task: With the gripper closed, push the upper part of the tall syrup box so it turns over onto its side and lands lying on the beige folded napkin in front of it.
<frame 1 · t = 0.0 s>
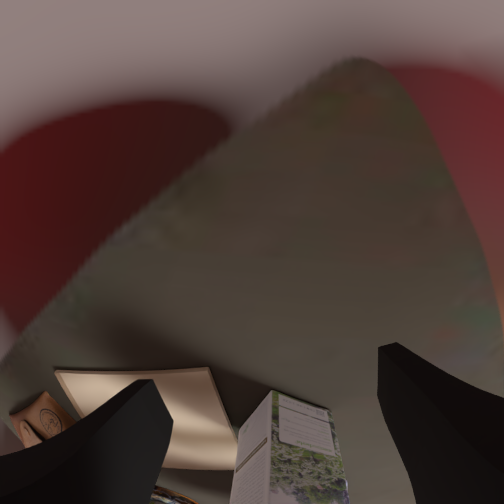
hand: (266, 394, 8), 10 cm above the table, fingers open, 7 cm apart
syrup box: (285, 418, 21), on the table
burger: (164, 501, 27), on the table
beige folded napkin: (148, 425, 22), on the table
sunglasses case: (47, 425, 26), on the table
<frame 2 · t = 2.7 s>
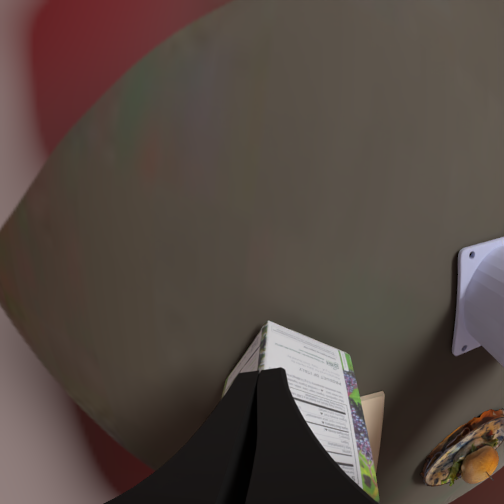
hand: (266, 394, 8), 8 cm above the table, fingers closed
syrup box: (284, 364, 17), on the table, touching gripper
burger: (464, 444, 20), on the table
beige folded napkin: (305, 466, 20), on the table
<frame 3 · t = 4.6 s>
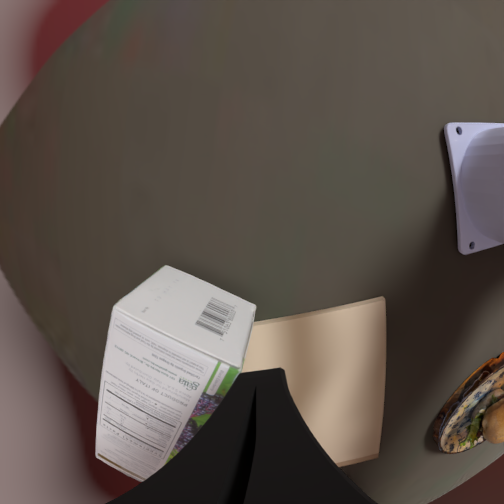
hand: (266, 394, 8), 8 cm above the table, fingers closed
syrup box: (195, 300, 13), point 4 cm above the table, touching beige folded napkin
burger: (482, 399, 18), on the table
beige folded napkin: (294, 413, 19), on the table
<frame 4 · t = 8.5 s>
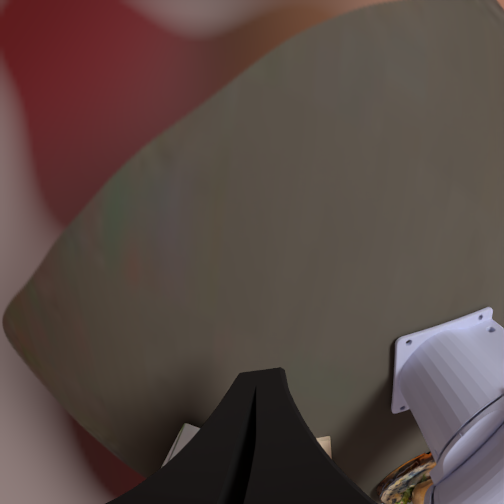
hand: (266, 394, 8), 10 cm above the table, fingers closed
syrup box: (208, 456, 18), point 4 cm above the table, touching beige folded napkin
burger: (419, 472, 24), on the table
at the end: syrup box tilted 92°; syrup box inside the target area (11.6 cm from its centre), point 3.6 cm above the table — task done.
